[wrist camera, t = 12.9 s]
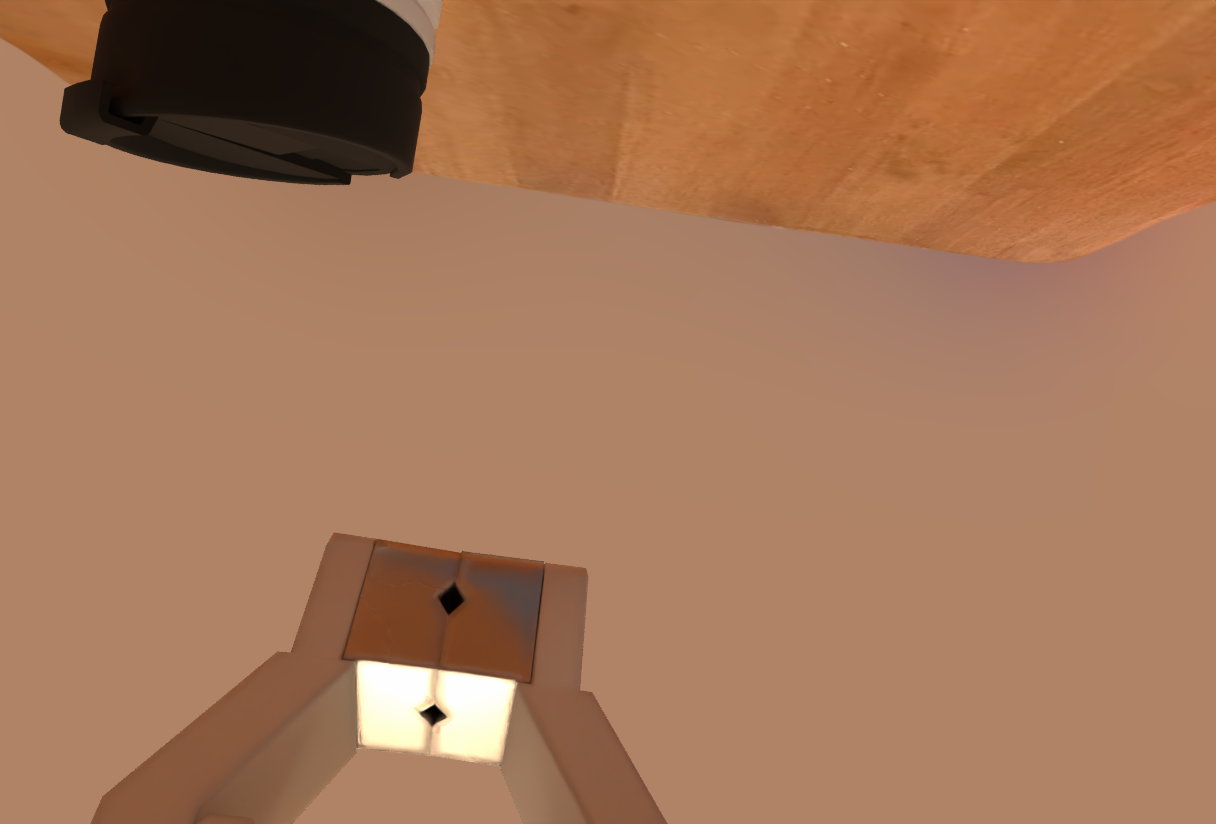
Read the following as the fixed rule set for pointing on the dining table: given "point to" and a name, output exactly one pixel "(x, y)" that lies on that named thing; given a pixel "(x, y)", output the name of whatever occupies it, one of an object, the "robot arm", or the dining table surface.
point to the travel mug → (260, 86)
